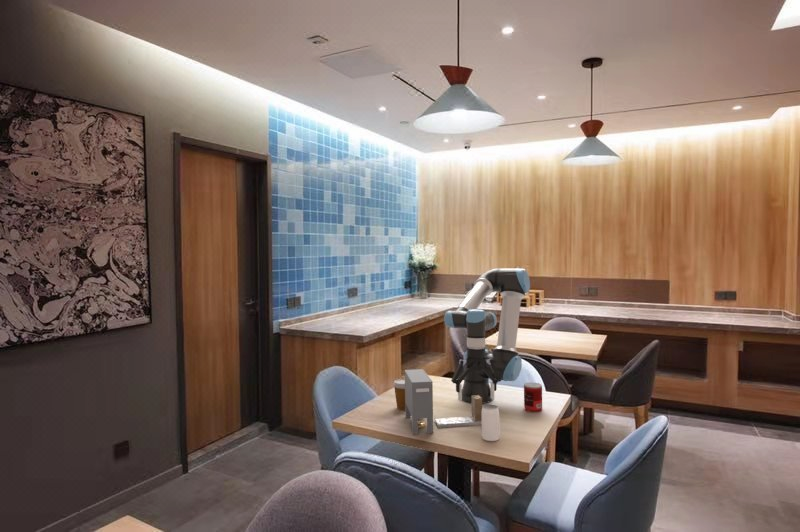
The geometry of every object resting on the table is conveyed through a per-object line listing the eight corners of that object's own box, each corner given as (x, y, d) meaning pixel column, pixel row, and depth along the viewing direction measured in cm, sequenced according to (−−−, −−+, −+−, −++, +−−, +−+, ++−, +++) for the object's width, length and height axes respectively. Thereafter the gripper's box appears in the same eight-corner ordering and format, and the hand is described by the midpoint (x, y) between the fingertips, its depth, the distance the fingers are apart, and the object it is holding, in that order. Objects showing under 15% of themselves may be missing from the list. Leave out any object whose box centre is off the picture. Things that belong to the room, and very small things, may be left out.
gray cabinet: (423, 415, 207) (423, 369, 207) (433, 433, 185) (432, 382, 185) (405, 416, 206) (404, 369, 206) (413, 435, 184) (412, 383, 184)
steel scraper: (479, 419, 202) (478, 394, 201) (484, 425, 195) (484, 399, 195) (434, 422, 199) (434, 397, 199) (438, 428, 192) (438, 402, 192)
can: (479, 435, 183) (479, 404, 182) (496, 435, 183) (496, 403, 183) (484, 442, 176) (483, 409, 176) (501, 441, 177) (501, 408, 177)
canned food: (542, 407, 216) (542, 382, 215) (541, 412, 208) (541, 387, 208) (525, 405, 218) (524, 381, 218) (523, 411, 211) (523, 386, 210)
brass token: (423, 423, 198) (423, 420, 198) (426, 427, 193) (426, 424, 193) (411, 425, 197) (411, 422, 197) (414, 429, 192) (414, 426, 192)
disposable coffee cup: (412, 411, 213) (412, 384, 212) (391, 410, 214) (391, 383, 214) (416, 405, 222) (415, 379, 222) (395, 404, 224) (395, 378, 224)
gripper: (502, 345, 202) (502, 395, 202) (444, 346, 199) (444, 398, 199) (508, 348, 195) (508, 400, 195) (448, 350, 192) (448, 403, 192)
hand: (476, 399), depth 197 cm, fingers open, 13 cm apart
